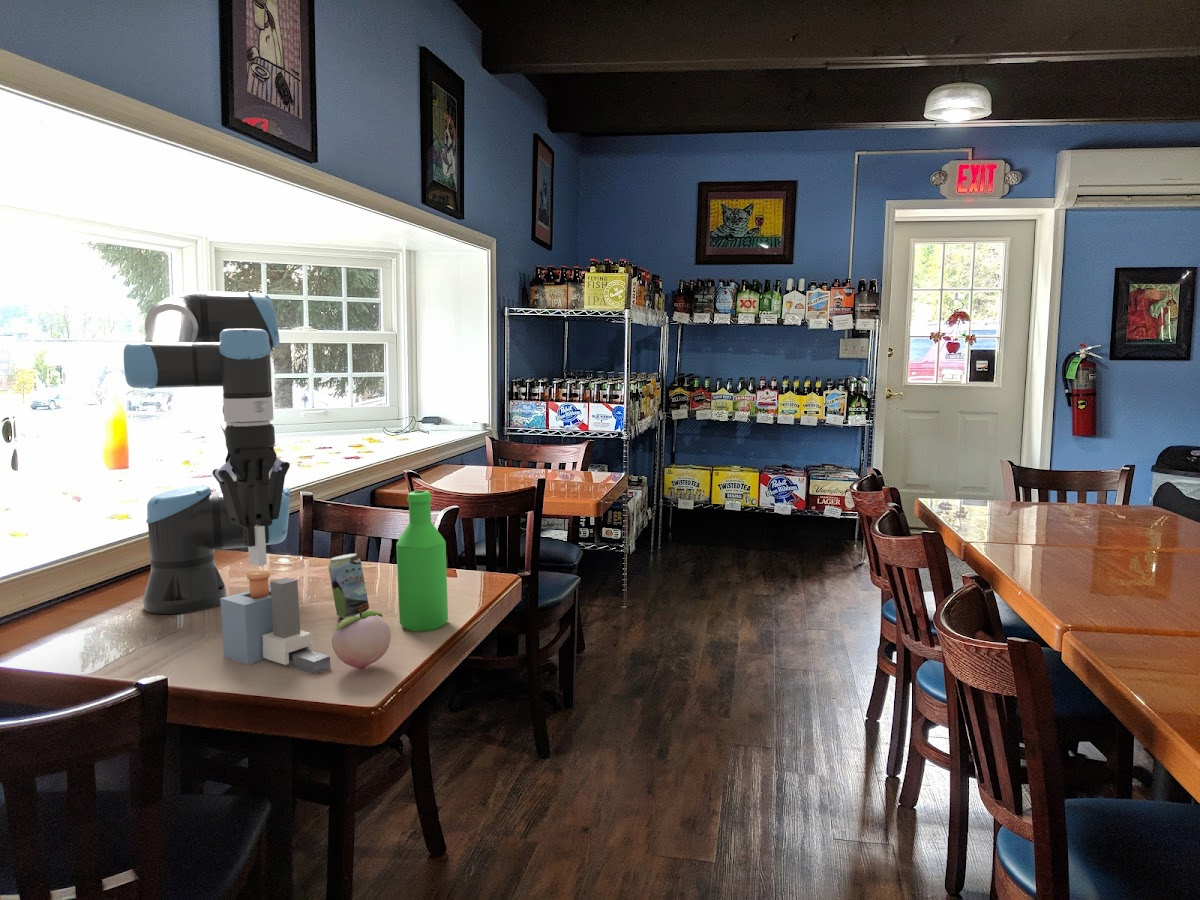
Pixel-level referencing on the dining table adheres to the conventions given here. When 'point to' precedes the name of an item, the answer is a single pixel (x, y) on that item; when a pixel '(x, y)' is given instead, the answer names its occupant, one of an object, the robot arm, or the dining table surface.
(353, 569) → the beverage can
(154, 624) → the dining table surface
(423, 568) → the bottle
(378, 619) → the decorative fruit
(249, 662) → the housing
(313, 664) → the rail
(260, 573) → the plunger
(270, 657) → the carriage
